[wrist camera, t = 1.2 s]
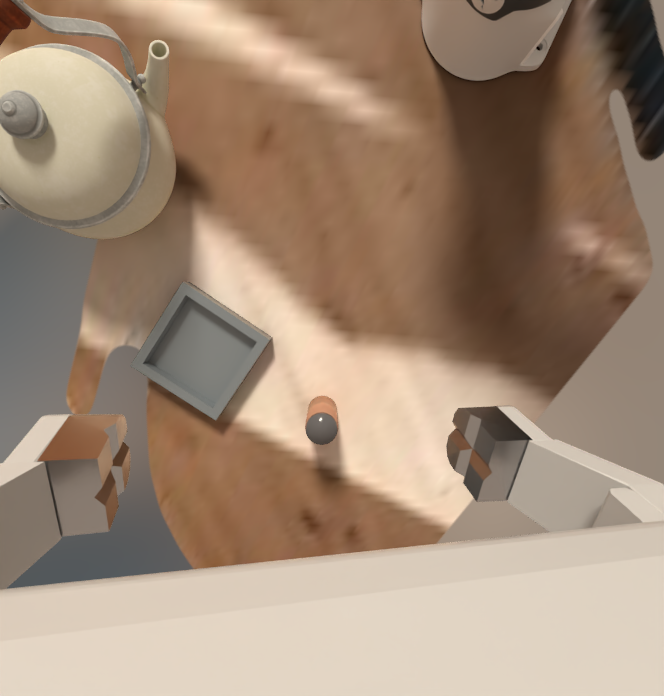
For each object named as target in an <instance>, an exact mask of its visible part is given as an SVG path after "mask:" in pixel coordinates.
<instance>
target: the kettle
mask: <svg viewBox="0 0 664 696" xmlns="http://www.w3.org/2000/svg"><path fill="white" fill-rule="evenodd" d="M31 19H32V20H34V21H35V22H36V23H37V24H38V25H40V26H41V27H42V28H44V29H45V30H47V31H49V32H52V33H56V34H62V35H79V36H93V37H101V38H107V39H110V40H113V41H115V42H117V43H118V44H119V46H120V49H121V52H122V55H123V59H124V63H125V67H126V71H127V74H128V75H129V76H130V78H131V79H132V82H131V81H129V80H127V79H125V77H124V76H123V75H122V74H121V73H120V72H119V71H118V70H117V69H116V68H114V67H113V66H112V65H111V64H110V63H108V62H107V61H106V60H104V59H102V58H101V57H99V56H97V55H95V54H94V53H91V52H89V51H87V50H84V49H81V48H79V47H75V46H71V45H65V44H42V45H36V46H32V47H29V48H26V49H23V50H21V51H18V52H15V53H12V54H10V55H8V56H6V57H5V58H3V59H1V60H0V209H2V210H4V209H6V207H10V208H14V209H16V210H17V211H19V212H21V213H22V214H23V215H25V216H27V217H29V218H30V219H32V220H35V221H37V222H39V223H42V224H45V225H48V226H51V227H56V228H59V229H61V230H63V231H66V232H68V233H71V234H74V235H77V236H81V237H86V238H92V239H113V238H119V237H123V236H127V235H130V234H132V233H134V232H137V231H139V230H140V229H142V228H144V227H145V226H147V225H148V224H149V223H151V222H152V221H153V220H154V219H155V218H156V217H157V216H158V215H159V214H160V212H161V211H162V210H163V208H164V207H165V205H166V203H167V202H168V200H169V198H170V195H171V193H172V190H173V186H174V182H175V176H176V159H175V152H174V148H173V144H172V140H171V137H170V134H169V130H168V127H167V124H166V121H165V112H166V106H167V100H168V92H169V48H168V46H167V44H166V43H165V42H163V41H160V40H155V41H153V42H152V43H151V44H150V46H149V55H148V63H147V67H146V70H145V72H144V74H143V75H142V74H138V76H137V74H136V69H135V65H134V62H133V59H132V56H131V54H130V52H129V50H128V48H127V47H126V46H125V44H124V43H123V42H122V41H121V39H120V38H119V37H118V35H117V34H116V33H115V32H114V31H113V30H112V29H111V28H110V27H108V26H107V25H105V24H102V23H99V22H95V21H90V20H84V19H77V18H65V17H54V16H46V15H42V14H40V13H38V12H36V11H34V10H33V9H32V8H30V7H29V6H28V5H27V4H25V3H24V2H23V0H0V45H1V44H2V42H3V41H4V40H5V38H6V37H7V36H8V34H9V33H10V32H11V31H12V30H14V29H26V28H27V27H28V26H29V24H30V22H31Z"/></svg>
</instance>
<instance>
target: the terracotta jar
mask: <svg viewBox="0 0 664 696" xmlns="http://www.w3.org/2000/svg"><path fill="white" fill-rule="evenodd" d="M305 429H306V434H307V436H308V438H309V439H310V440H311V441H312V442H314V443H316V444H320V445H323V444H328V443H330V442H331V441H332V440H333V439H334V438H335V437H336V434H337V431H338V420H337V407H336V404H335V402H334V401H333V400H332V399H331V398H329V397H326V396H319V397H316V398H314V399H313V400H312V401H311V402H310V404H309V407H308V413H307V419H306V425H305Z"/></svg>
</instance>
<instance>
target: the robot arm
mask: <svg viewBox="0 0 664 696" xmlns="http://www.w3.org/2000/svg"><path fill="white" fill-rule="evenodd" d="M570 3H571V0H422V28H423V34H424V38H425V41H426V44H427V46H428V48H429V50H430V52H431V54H432V55H433V57H434V58H435V59H436V61H437V62H438V63H439V64H440V65H441V66H442V67H443V68H444V69H446V70H447V71H448V72H450V73H452V74H454V75H455V76H458V77H460V78H463V79H467V80H475V81H482V80H489V79H493V78H496V77H499V76H501V75H504V74H506V73H508V72H511V71H533V70H536V69H537V68H538V67H539V66H540V65H541V64H542V62H543V61H544V59H545V57H546V55H547V53H548V50H549V48H550V46H551V44H552V42H553V39H554V37H555V35H556V33H557V31H558V29H559V26H560V24H561V22H562V20H563V18H564V16H565V13H566V11H567V9H568V7H569V5H570ZM537 46H538V47H539V48H540V51H539V50H537V49H536V47H537ZM452 422H453V424H454V426H455V428H456V429H455V430H454V431H453V432H452V433H451V434H450V435H449V437H448V441H447V446H446V447H447V457H448V459H449V462H450V464H451V466H452V467H453V469H454V470H455V471H456V472H458V473H459V474H461V475H463V476H464V482H463V483H464V485H465V486H466V487H467V489H468V490H469V492H470V493H471V494H472V496H473V497H474V499H475V500H476V501H477V502H485V501H504V500H508V501H507V502H508V503H509V504H511V505H512V506H514V507H515V508H517V509H518V510H519V511H521V512H522V513H523V514H525V515H526V516H528V517H529V518H530V519H532V520H533V521H535V522H536V523H537V524H539V525H540V526H542V527H543V528H545V529H546V530H547V531H549V533H538V534H528V535H519V536H510V537H500V538H490V539H480V540H470V541H461V542H451V543H441V544H432V545H422V546H412V547H403V548H394V549H384V550H375V551H365V552H356V553H346V554H337V555H328V556H318V557H309V558H299V559H290V560H280V561H270V562H261V563H251V564H241V565H232V566H222V567H213V568H203V569H193V570H184V571H175V572H164V573H155V574H146V575H136V576H126V577H118V578H117V577H116V578H108V579H98V580H88V581H78V582H68V583H59V584H49V585H40V586H30V587H20V588H11V589H6V588H7V587H8V586H9V585H10V584H12V582H14V581H15V580H16V579H17V578H18V577H19V576H20V575H22V574H23V573H24V572H25V571H26V570H27V569H28V568H29V567H30V566H32V565H33V564H34V563H35V562H36V561H37V560H38V559H39V558H41V557H42V556H43V555H44V554H45V553H46V552H47V551H48V550H49V549H51V548H52V547H53V546H54V545H55V544H56V543H57V542H58V541H59V540H60V539H61V536H70V535H80V534H89V533H98V532H108V531H109V530H110V527H111V525H112V522H113V519H114V517H115V514H116V512H117V509H118V506H119V505H118V497H117V496H118V495H119V494H121V493H122V492H123V491H124V490H125V488H126V485H127V481H128V477H129V471H130V449H129V447H128V446H127V445H126V444H125V443H124V442H123V440H124V438H125V435H126V433H127V425H126V419H125V417H124V416H123V415H121V414H113V415H112V414H109V415H108V414H106V415H105V414H102V415H101V414H99V415H98V414H97V415H96V414H93V415H71V414H69V415H68V414H65V415H46V416H43V417H41V418H40V419H39V420H38V422H37V423H36V424H35V425H34V426H33V428H32V429H31V430H30V431H29V432H28V434H27V435H26V436H25V437H24V439H23V440H22V441H21V442H20V443H19V444H18V446H17V447H16V448H15V450H13V452H12V453H11V454H10V455H9V456H8V458H7V459H6V460H5V461H4V462H3V463H0V696H664V485H663V484H662V483H659V482H657V481H655V480H652V479H650V478H648V477H645V476H643V475H640V474H638V473H636V472H633V471H631V470H628V469H626V468H624V467H621V466H619V465H617V464H614V463H612V462H610V461H607V460H605V459H602V458H600V457H598V456H595V455H593V454H591V453H588V452H586V451H584V450H581V449H579V448H576V447H574V446H572V445H569V444H567V443H564V442H562V441H560V440H557V439H555V440H552V439H551V438H550V437H549V436H547V435H546V434H545V433H544V432H543V431H542V430H540V429H539V428H538V427H537V426H536V425H535V424H534V423H532V422H531V421H530V420H529V419H528V418H527V417H525V416H524V415H523V414H522V413H521V412H520V411H519V410H517V409H516V408H515V407H512V406H509V405H507V406H492V407H473V408H458V409H457V411H456V412H455V414H454V418H453V421H452Z"/></svg>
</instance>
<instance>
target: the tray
mask: <svg viewBox="0 0 664 696" xmlns="http://www.w3.org/2000/svg"><path fill="white" fill-rule="evenodd" d="M271 339H272V337H271V336H269V335H268V334H266V333H265V332H263V331H262V330H260V329H259V328H257V327H256V326H254V325H253V324H251V323H250V322H248V321H247V320H245V319H244V318H242V317H241V316H239V315H238V314H236V313H235V312H233V311H232V310H230V309H229V308H227V307H226V306H224V305H223V304H221V303H220V302H218V301H217V300H215V299H214V298H212V297H211V296H209V295H208V294H206V293H205V292H203V291H202V290H200V289H199V288H197V287H196V286H195V285H193V284H192V283H190V282H182V284H181V285H180V287H179V288H178V290H177V292H176V293H175V295H174V296H173V298H172V300H171V301H170V303H169V304H168V306H167V308H166V309H165V311H164V312H163V314H162V316H161V317H160V319H159V320H158V322H157V324H156V325H155V327H154V328H153V330H152V332H151V333H150V335H149V336H148V338H147V340H146V341H145V343H144V344H143V346H142V348H141V349H140V351H139V352H138V354H137V356H136V357H135V359H134V360H133V362H132V364H131V365H130V366H131V367H133V368H134V369H136V370H137V371H139V372H140V373H142V374H143V375H145V376H147V377H148V378H150V379H151V380H153V381H154V382H156V383H158V384H159V385H161V386H162V387H164V388H165V389H167V390H169V391H170V392H172V393H173V394H175V395H176V396H178V397H180V398H181V399H183V400H184V401H186V402H187V403H189V404H191V405H192V406H194V407H195V408H197V409H198V410H200V411H202V412H203V413H205V414H206V415H208V416H209V417H211V418H213V419H214V420H217V419H218V417H219V416H220V415H221V414H222V412H223V411H224V409H225V408H226V406H227V405H228V403H229V402H230V400H231V399H232V397H233V396H234V394H235V393H236V391H237V390H238V388H239V387H240V385H241V384H242V382H243V381H244V379H245V378H246V376H247V375H248V373H249V372H250V370H251V369H252V367H253V366H254V364H255V363H256V361H257V360H258V358H259V357H260V355H261V354H262V352H263V351H264V349H265V348H266V346H267V345H268V343H269V342H270V340H271Z"/></svg>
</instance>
